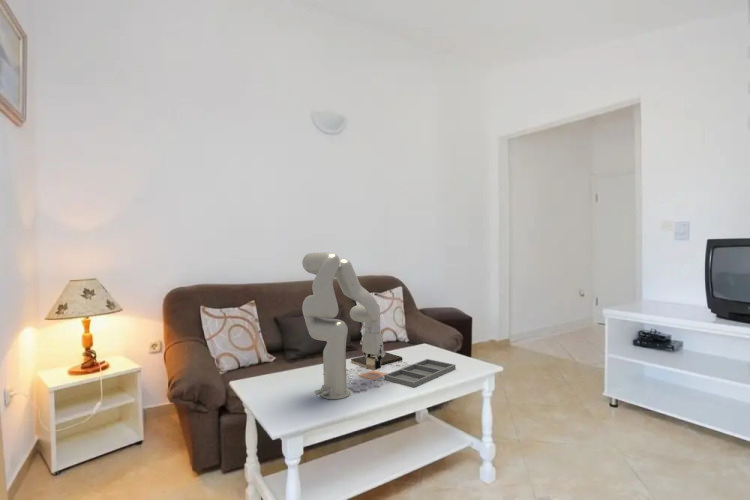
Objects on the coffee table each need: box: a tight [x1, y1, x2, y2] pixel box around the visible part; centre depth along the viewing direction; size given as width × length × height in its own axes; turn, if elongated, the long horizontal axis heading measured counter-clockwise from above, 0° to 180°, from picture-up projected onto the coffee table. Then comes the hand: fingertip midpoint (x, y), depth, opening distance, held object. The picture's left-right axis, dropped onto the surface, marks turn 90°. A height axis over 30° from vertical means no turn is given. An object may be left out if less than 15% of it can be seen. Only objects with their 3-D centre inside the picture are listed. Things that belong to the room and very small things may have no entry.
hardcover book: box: [350, 351, 403, 368], centre depth 222 cm, size 16×23×2 cm
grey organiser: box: [383, 358, 457, 389], centre depth 197 cm, size 34×17×2 cm, turn 137°
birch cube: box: [366, 356, 381, 371], centre depth 197 cm, size 5×5×5 cm
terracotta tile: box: [358, 370, 388, 381], centre depth 197 cm, size 10×10×1 cm
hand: (373, 367), depth 197 cm, fingers closed on birch cube, 4 cm apart
